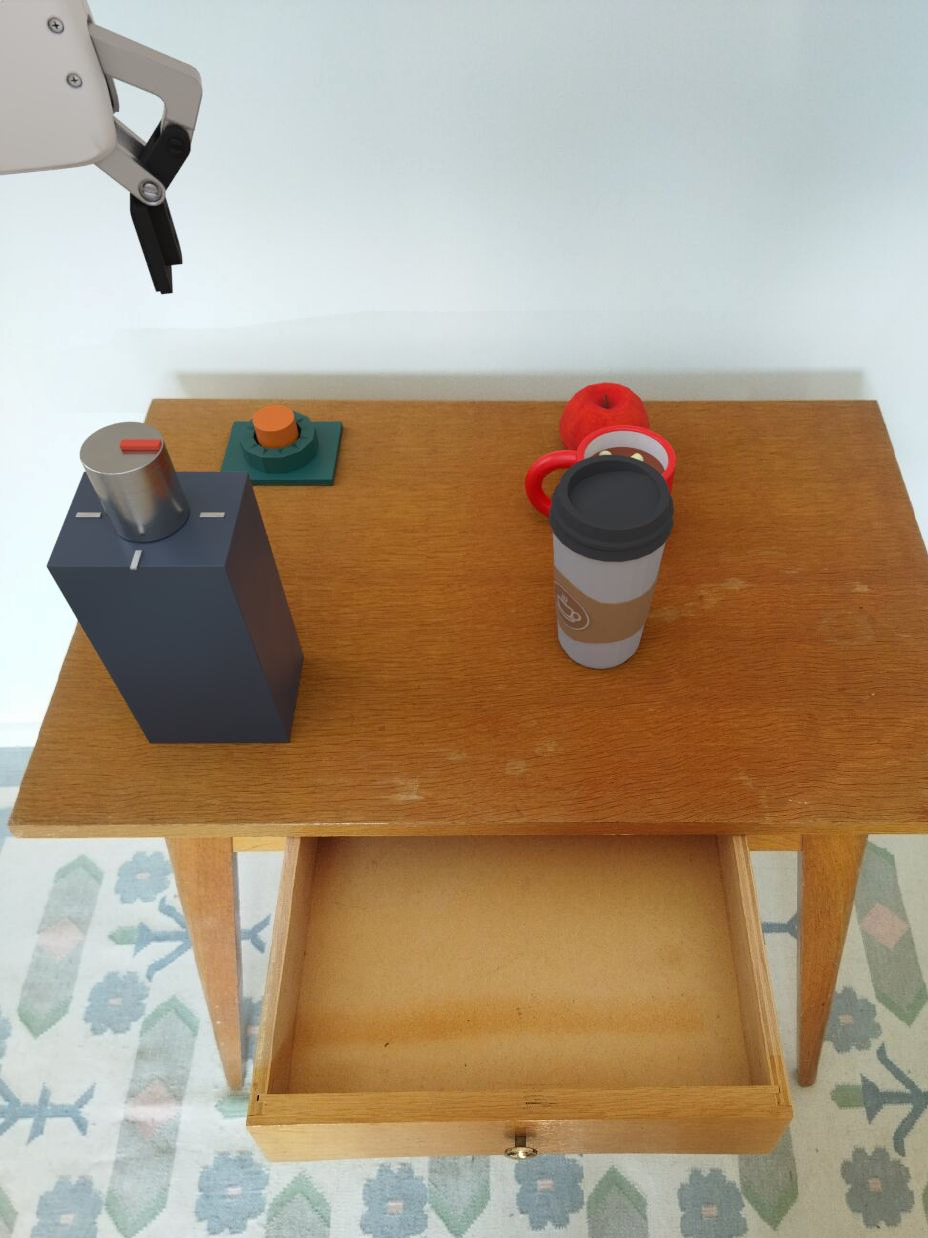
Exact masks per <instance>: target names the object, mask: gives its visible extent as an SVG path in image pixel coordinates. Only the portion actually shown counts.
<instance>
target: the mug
mask: <svg viewBox="0 0 928 1238" xmlns="http://www.w3.org/2000/svg"><path fill="white" fill-rule="evenodd" d="M599 455H622V456H628V457H633V458H635V459H638V460H641V461H643V462H646V463H647V464H649V465H650V466H652V467H653V468H655V469H656V470H657V471H658V472H659V473H660V474H661V475H662V476H663V477H664V479H665V481H666V483H667V485H668V487H669V493H670V495H671V496H672V491H673V485H674V484H673V483H674V478H675V473H676V472H675V471H676V466H677V455H676V453H675V450H674V448H673V446H672V445H671V444H670V443H669V441H668V440H666V438H664V437H663V436H662V435H660V434H658V433H657V432H656V431H653V430H650V429H649V430H648V429H646V428H642V427H638V426H631V425H615V426H609V427H605V428H601V429H599V430H597V431H594V432H593V433H591V434H590V435H588V436H587V437H586V438H585V439H584V440H583V441H582V442H581V444H580V445H579V447H578V450H577V451H573V450H565V449H561V450H553V451H551V452H548V453H546V454H544V455H541V456H540V457H539V458H538V459H536V460H535V461H534V462H533V463H532V464H531V466H530V467H529V469H528V470H527V472H526V475H525V478H524V491H525V494H526V497H527V500H528V501H529V503H530V504H531V506H532V507H533V508H534V509H535V510H536V512H538V513H540V514H541V515H543V516H545V517H547V518H549V510H550V507H551V499H552V498H550V497H549V496H548V495H547V494H546V492H545V490H544V489H543V481H544V479H545V478H546V477H547V476H548V475H549V474H550V473H553V472H555V471H557V470H562V469H568V468H570V467H571V466H573V465H574V464H576V463H577V462H579V461H581V460H584V459H587V458H589V457H593V456H599Z"/></svg>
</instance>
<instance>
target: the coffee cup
mask: <svg viewBox="0 0 928 1238" xmlns="http://www.w3.org/2000/svg"><path fill="white" fill-rule="evenodd" d="M550 499H551V507H550V510H549V517H548V522H549V526H550V528H551V530H552V543H553V544H552V546H553V561H552V562H553V563H552V567H553V586H554V603H555V616H556V619H557V620H556V621H557V638H558V641H559V644H560V647H561V648H562V650H563V651H564V652H565V653H566V654H567V656H568V657H569V658H570V659H571V660H573V661H574V662H575V663H577V664H579V665H581V666H583V667H585V668H591V669H596V670H597V669H599V670H600V669H601V670H603V669H610V668H615V667H617V666H619V665H622V664H623V663H625V662H626V661H627V660H629V659H630V658H631V657H632V656H633V655H634V654H635V653H636V651H637V650H638V648H639V646H640V642H641V640H642V639H641V638H642V636H643V631H644V628H645V624H646V622H647V620H648V617H649V613H650V609H651V605H652V602H653V598H654V594H655V590H656V585H657V582H658V578H659V574H660V572H661V562H662V558H663V554H664V550H665V546H666V542H667V540H668V539H669V538H670V537H671V535H672V530H673V527H674V512H675V509H674V501H673V497H672V494H671V495H670V493H669V487H668V485H667V483H666V481H665V479H664V477H663V476H662V475H661V474H660V473H659V472H658V471H657V470H656V469H655V468H653V467H652V466H650V465H649V464H647V463H646V462H643V461H641V460H638V459H635V458H633V457H628V456H622V455H599V456H593V457H589V458H587V459H584V460H581V461H579V462H577V463H576V464H574V465H573V466H571V467H570V468H567V469H566V471H564V473H563V474H562V475H561V477H560V479H559V481H558V484H557V485H556V486H555V488H554V490H553V493H552V496H551V498H550Z"/></svg>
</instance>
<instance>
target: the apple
mask: <svg viewBox="0 0 928 1238" xmlns="http://www.w3.org/2000/svg"><path fill="white" fill-rule="evenodd" d="M615 425H631V426H638V427H642V428H646V429H648V430H650V426H651V424H650V419H649V415H648V412H647V410H646V407H645V404H644V402H643V400H642V398H641V397H640V396H639V395H638V394H637V393H636V392H634V390H632V389H631V388H630V387H628V386H626V385H623V384H621V383H616V382H606V381H605V382H598V383H593V384H588V385H587V386H585V387H583V388H581V389H579V390H578V391H576V392H575V393H574V395H573V396H572V397H571V398H570V399H569V400H568V402H567V403H566V404H565V406H564V408H563V410H562V412H561V416H560V418H559V427H558V433H559V437H560V440H561V443H562V446H563V448H564V450H573V451H577V450H578V447H579V445H580V444H581V442H582V441H583V440H584V439H585V438H586V437H587V436H588V435H590V434H591V433H593V432H594V431H597V430H599V429H601V428H605V427H609V426H615Z"/></svg>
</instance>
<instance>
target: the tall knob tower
mask: <svg viewBox="0 0 928 1238" xmlns="http://www.w3.org/2000/svg"><path fill="white" fill-rule="evenodd" d="M176 474H177V477H178V479H179V482H180V484H181V487H182V490H183V492H184V495H185V497H186V500H187V503H188V506H189V514H188V518H187V520H186V522H185V523H184V524H183V526H182V527H181V528H180V529H178V530H177V531H176V532H174V533H173V534H171V535H169V536H167V537H165V538H163V539H159V540H156V541H150V542H135V541H130V540H127V539H124V538H123V537H121V536H119V535H118V534H117V533H116V532H115V531H114V529H113V527H112V525H111V523H110V521H109V519H108V517H107V514H106V512H105V510H104V508H103V506H102V504H101V502H100V500H99V498H98V496H97V494H96V492H95V490H94V487H93V485H92V483H91V481H90V479H89V477H88V475H87V473H86V471H83V473H82V475H81V478H80V480H79V482H78V485H77V487H76V490H75V493H74V495H73V498H72V500H71V503H70V506H69V508H68V510H67V513H66V516H65V518H64V520H63V523H62V525H61V528H60V531H59V533H58V536H57V538H56V541H55V543H54V545H53V547H52V551H51V553H50V556H49V558H48V560H47V563H46V569H47V570H48V573H49V574H50V576H51V577H52V579H53V580H54V583H55V584H56V586H57V587H58V589H59V591H60V592H61V594H62V596H63V598H64V599H65V601H66V602H67V605H68V606H69V608H70V610H71V611H72V613H73V615H74V617H75V618H76V620H77V622H78V623H79V625H80V627H81V628H82V630H83V632H84V633H85V635H86V637H87V639H88V640H89V642H90V644H91V646H92V647H93V649H94V650H95V652H96V654H97V656H98V657H99V659H100V661H101V662H102V664H103V666H104V667H105V669H106V671H107V672H108V675H109V676H110V678H111V680H112V682H113V683H114V684H115V687H116V688H117V690H118V692H119V693H120V695H121V697H122V698H123V700H124V702H125V703H126V705H127V707H128V709H129V711H130V712H131V714H132V715H133V717H134V720H136V722H137V724H138V726H139V727H140V729H141V732H142V733H143V735H145V738H146V739H147V742H148V743H149V744H283V743H284V744H285V743H286V744H289V743H290V741H291V737H292V736H291V735H292V729H293V723H294V717H295V713H296V712H295V711H296V706H297V699H298V694H299V689H300V682H301V676H302V671H303V670H302V669H303V664H304V659H305V654H304V651H303V648H302V644H301V642H300V638H299V635H298V632H297V629H296V628H297V627H296V626H295V622H294V618H293V615H292V612H291V608H290V606H289V603H288V599H287V596H286V592H285V589H284V585H283V583H282V579H281V576H280V573H279V569H278V566H277V563H276V560H275V556H274V553H273V549H272V546H271V543H270V540H269V537H268V533H267V529H266V526H265V523H264V520H263V516H262V514H261V513H262V512H261V510H260V506H259V504H258V500H257V496H256V494H255V490H254V487H253V485H252V483H251V480H250V477H249V473H248V472H220V471H176Z"/></svg>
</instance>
